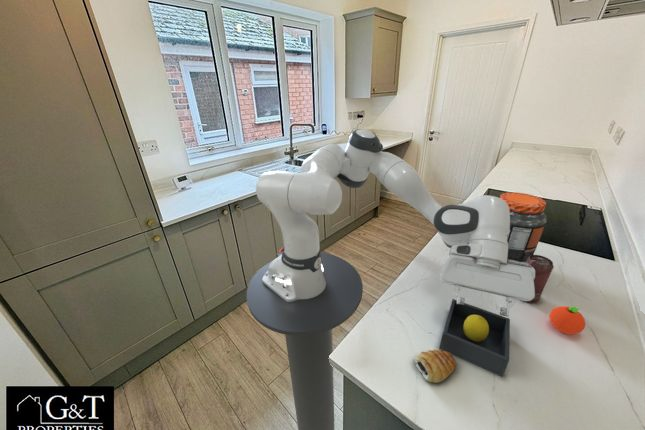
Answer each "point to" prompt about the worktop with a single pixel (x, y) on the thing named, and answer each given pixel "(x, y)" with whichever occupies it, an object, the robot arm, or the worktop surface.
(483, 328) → the lemon
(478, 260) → the robot arm
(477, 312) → the bin
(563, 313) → the clementine
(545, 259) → the dark red glass cylinder
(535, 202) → the supplement tub
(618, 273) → the worktop surface
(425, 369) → the pastry
